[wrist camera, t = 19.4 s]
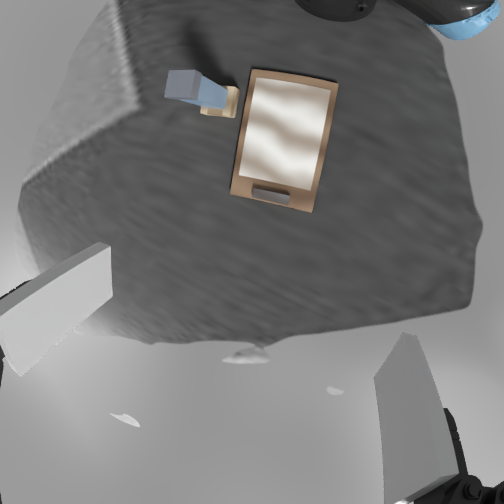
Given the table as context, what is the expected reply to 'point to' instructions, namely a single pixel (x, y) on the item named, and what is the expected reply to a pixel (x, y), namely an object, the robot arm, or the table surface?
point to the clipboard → (283, 138)
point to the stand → (230, 104)
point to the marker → (195, 89)
